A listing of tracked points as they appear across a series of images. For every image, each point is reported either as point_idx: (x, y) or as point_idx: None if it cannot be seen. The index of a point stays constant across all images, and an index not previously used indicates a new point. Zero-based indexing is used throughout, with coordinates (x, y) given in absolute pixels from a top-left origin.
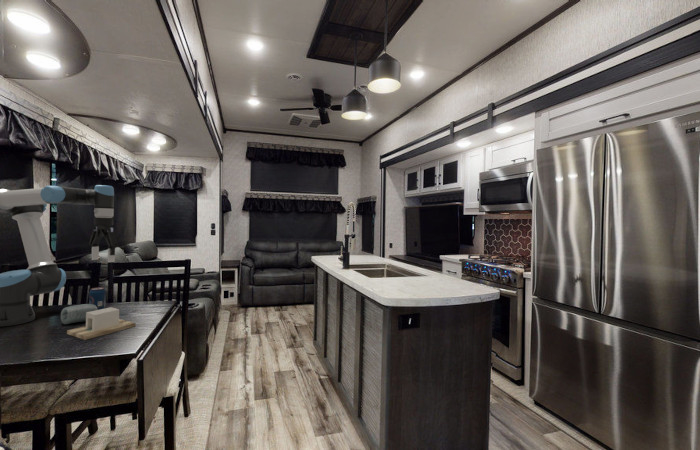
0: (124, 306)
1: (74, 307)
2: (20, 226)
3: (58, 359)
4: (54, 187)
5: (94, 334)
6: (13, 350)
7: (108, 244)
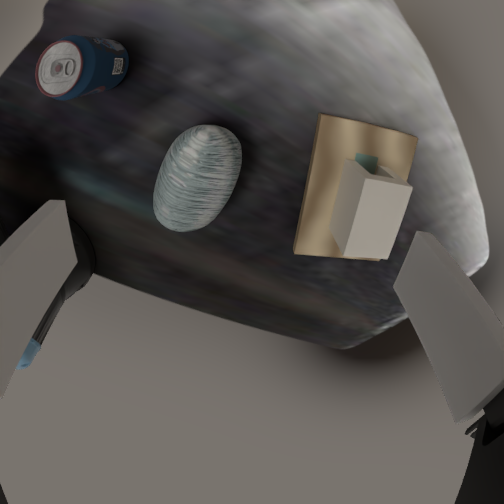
0: None
1: (201, 213)
2: None
3: (405, 317)
4: None
5: None
6: (294, 330)
7: (478, 473)
